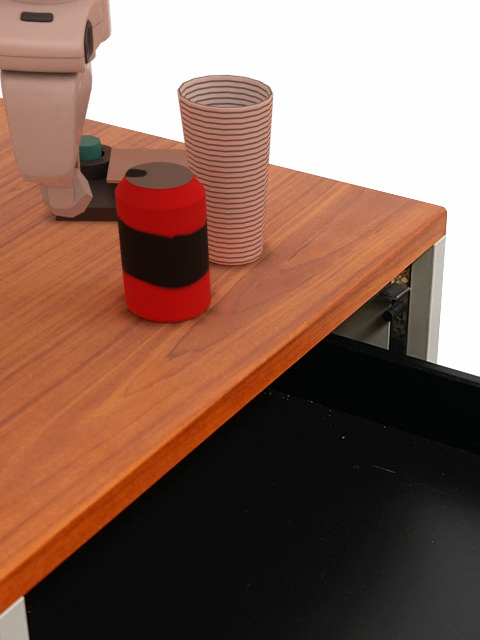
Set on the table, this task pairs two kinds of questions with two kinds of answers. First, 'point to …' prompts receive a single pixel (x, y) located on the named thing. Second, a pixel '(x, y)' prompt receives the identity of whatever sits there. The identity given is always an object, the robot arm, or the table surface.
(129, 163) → the pan
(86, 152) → the button
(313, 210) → the table surface
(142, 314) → the soda can
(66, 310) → the table surface
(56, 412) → the table surface
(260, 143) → the cup
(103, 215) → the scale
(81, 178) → the polyhedron
